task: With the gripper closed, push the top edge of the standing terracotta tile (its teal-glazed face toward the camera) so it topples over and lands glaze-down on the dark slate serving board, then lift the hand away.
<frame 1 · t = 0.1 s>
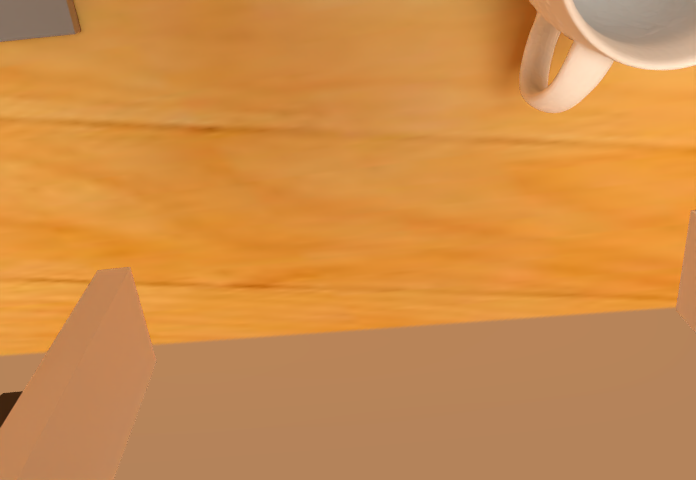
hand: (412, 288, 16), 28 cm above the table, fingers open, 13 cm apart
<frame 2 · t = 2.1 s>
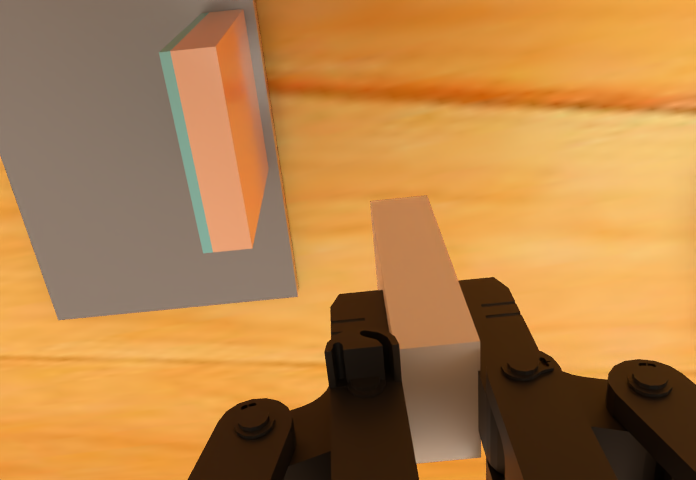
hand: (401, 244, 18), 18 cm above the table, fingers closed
tile: (236, 95, 33), point 1 cm above the table, touching slate board
slate board: (132, 100, 34), on the table
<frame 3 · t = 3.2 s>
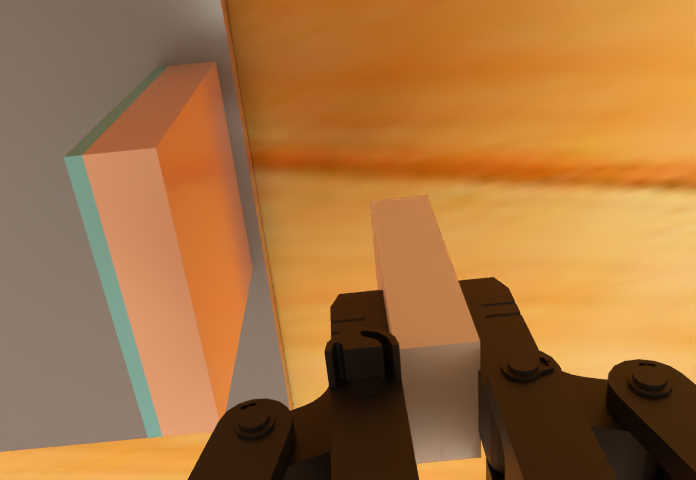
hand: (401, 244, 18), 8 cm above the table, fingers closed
tile: (208, 175, 24), point 1 cm above the table, touching slate board
slate board: (67, 179, 25), on the table
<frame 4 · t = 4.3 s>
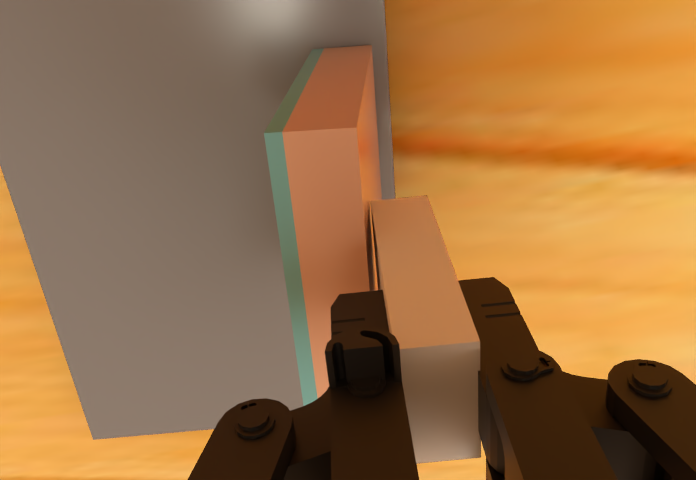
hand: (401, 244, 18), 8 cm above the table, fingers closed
tile: (351, 160, 24), point 1 cm above the table, tilted 6°, touching slate board
slate board: (204, 163, 25), on the table
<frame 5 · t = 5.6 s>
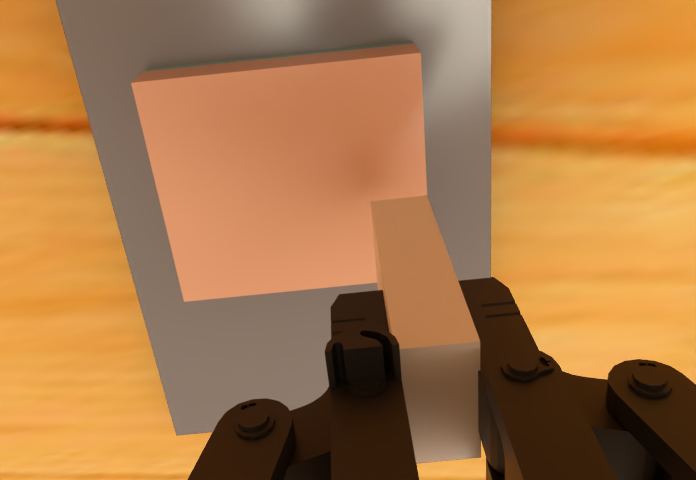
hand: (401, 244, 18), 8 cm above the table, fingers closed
tile: (422, 163, 23), point 2 cm above the table, tilted 90°, touching slate board
slate board: (299, 157, 25), on the table
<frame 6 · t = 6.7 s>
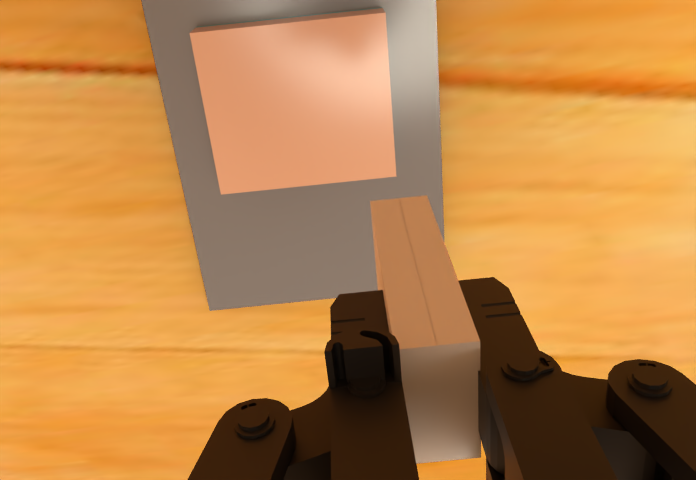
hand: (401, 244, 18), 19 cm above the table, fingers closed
tile: (389, 94, 33), point 2 cm above the table, tilted 90°, touching slate board
slate board: (302, 93, 35), on the table
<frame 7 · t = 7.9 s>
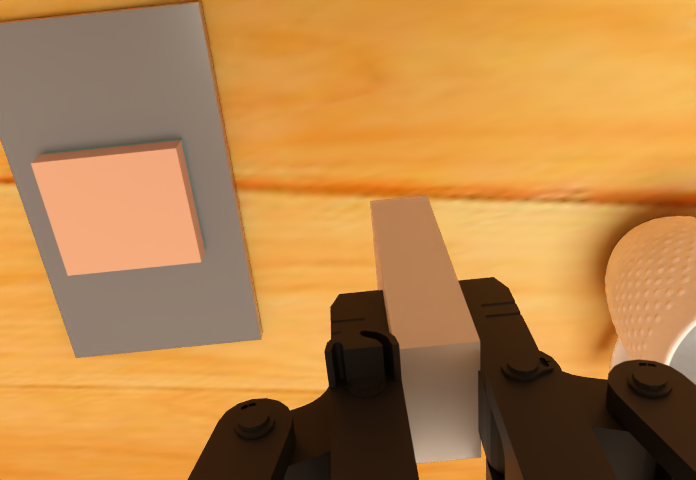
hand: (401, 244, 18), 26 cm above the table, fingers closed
mug: (644, 269, 50), on the table
tile: (191, 201, 43), point 2 cm above the table, tilted 90°, touching slate board
slate board: (133, 196, 45), on the table
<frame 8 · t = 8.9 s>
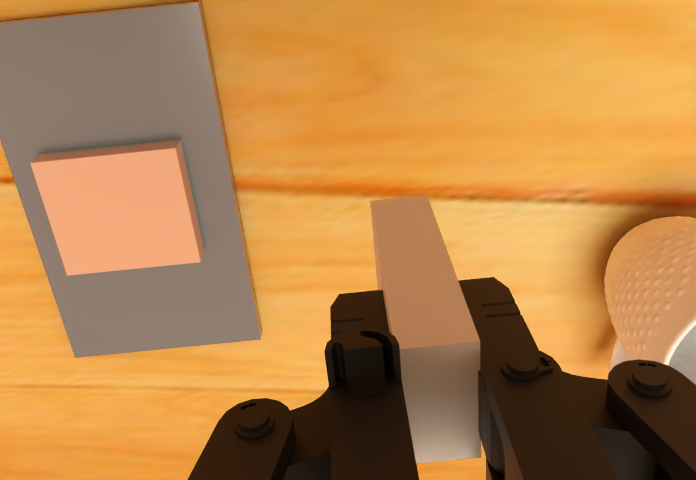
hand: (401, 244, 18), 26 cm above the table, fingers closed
mug: (644, 269, 50), on the table
tile: (191, 201, 43), point 2 cm above the table, tilted 90°, touching slate board
slate board: (132, 196, 45), on the table
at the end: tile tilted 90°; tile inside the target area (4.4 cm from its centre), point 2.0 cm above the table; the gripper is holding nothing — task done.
